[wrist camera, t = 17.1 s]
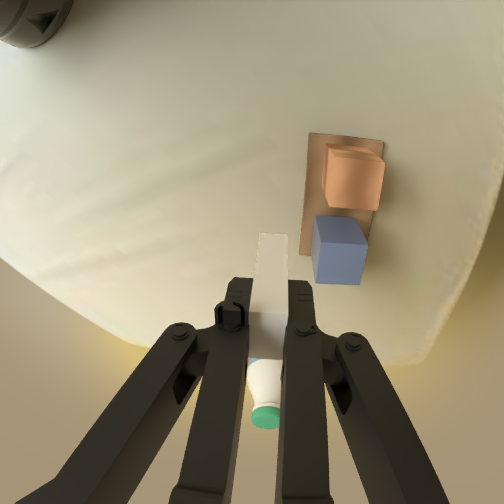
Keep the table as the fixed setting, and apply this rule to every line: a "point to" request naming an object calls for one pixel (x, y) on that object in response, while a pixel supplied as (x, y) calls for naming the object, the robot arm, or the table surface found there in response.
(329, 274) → the slate blue cube
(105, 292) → the table surface
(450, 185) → the table surface
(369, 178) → the organizer
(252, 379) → the milk bottle
